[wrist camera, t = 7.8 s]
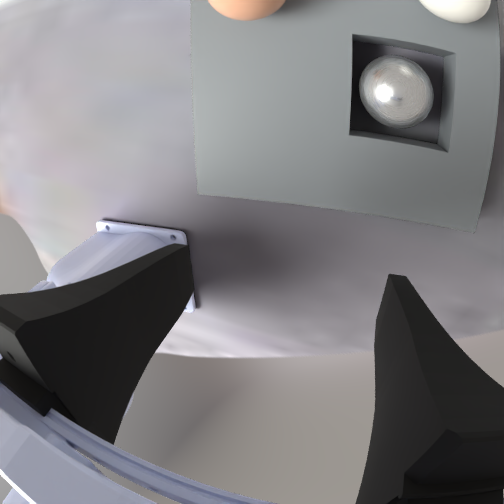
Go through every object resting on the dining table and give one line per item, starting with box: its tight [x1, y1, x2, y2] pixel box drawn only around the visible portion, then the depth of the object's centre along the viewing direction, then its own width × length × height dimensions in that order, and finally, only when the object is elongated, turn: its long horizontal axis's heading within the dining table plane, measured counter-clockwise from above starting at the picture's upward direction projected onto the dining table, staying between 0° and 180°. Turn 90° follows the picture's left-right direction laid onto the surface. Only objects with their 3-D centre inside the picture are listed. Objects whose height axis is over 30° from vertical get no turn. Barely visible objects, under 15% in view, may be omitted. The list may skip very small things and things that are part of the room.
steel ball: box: [359, 55, 434, 129], centre depth 13 cm, size 4×4×4 cm
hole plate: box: [191, 0, 500, 233], centre depth 14 cm, size 17×16×2 cm
